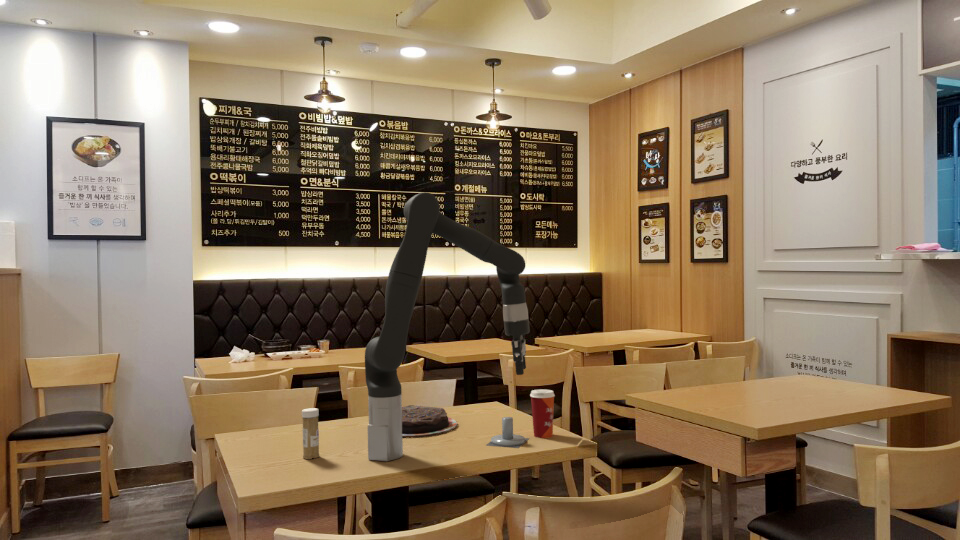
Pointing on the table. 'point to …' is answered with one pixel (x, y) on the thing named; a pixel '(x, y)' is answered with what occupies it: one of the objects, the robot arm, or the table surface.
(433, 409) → the chocolate cake
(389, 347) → the robot arm
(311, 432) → the sprinkles bottle
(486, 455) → the table surface
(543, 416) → the paper cup
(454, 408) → the table surface
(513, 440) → the lid
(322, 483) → the table surface
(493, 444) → the mat
